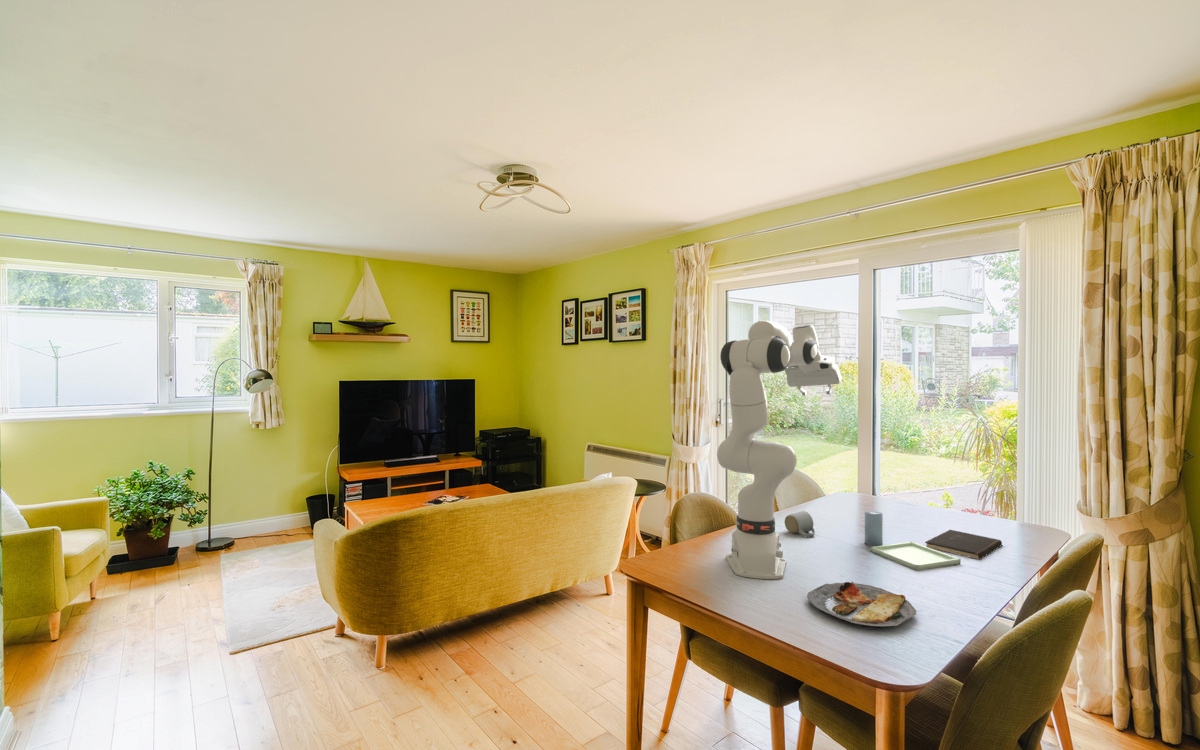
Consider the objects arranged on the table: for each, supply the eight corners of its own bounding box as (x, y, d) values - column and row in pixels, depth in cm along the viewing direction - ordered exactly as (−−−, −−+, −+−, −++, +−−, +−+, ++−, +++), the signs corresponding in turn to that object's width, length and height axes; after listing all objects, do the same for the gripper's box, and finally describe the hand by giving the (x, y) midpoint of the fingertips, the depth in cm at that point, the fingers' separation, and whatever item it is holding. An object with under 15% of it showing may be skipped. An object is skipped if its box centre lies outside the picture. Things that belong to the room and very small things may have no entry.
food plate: (842, 582, 153) (842, 570, 153) (930, 612, 134) (930, 598, 134) (792, 608, 138) (792, 594, 138) (883, 645, 119) (883, 630, 119)
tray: (870, 551, 179) (870, 546, 179) (911, 545, 185) (911, 541, 184) (916, 570, 162) (916, 565, 162) (960, 563, 167) (960, 559, 167)
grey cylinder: (884, 547, 184) (884, 515, 183) (867, 545, 185) (867, 514, 185) (879, 541, 189) (879, 511, 189) (862, 540, 190) (862, 510, 190)
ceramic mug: (782, 531, 202) (783, 511, 202) (798, 528, 206) (798, 508, 206) (804, 539, 193) (804, 518, 193) (820, 536, 196) (820, 515, 196)
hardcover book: (924, 548, 184) (924, 541, 184) (950, 535, 198) (950, 529, 198) (979, 561, 171) (979, 554, 171) (1001, 546, 185) (1001, 540, 185)
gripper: (781, 368, 212) (788, 399, 216) (835, 364, 200) (841, 396, 204) (785, 362, 217) (792, 392, 221) (838, 357, 204) (844, 389, 208)
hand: (816, 394), depth 212 cm, fingers open, 8 cm apart
